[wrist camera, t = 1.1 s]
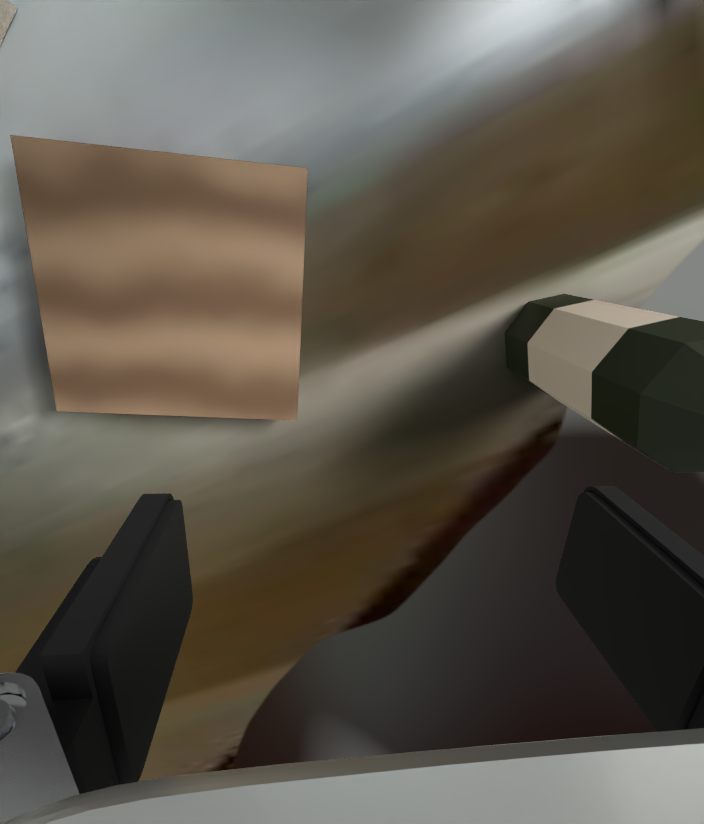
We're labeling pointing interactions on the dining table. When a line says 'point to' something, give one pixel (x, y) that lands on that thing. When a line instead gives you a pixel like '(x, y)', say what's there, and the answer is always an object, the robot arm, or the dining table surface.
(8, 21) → the condiment
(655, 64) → the dining table surface
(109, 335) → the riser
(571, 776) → the robot arm
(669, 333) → the wine bottle
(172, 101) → the dining table surface
